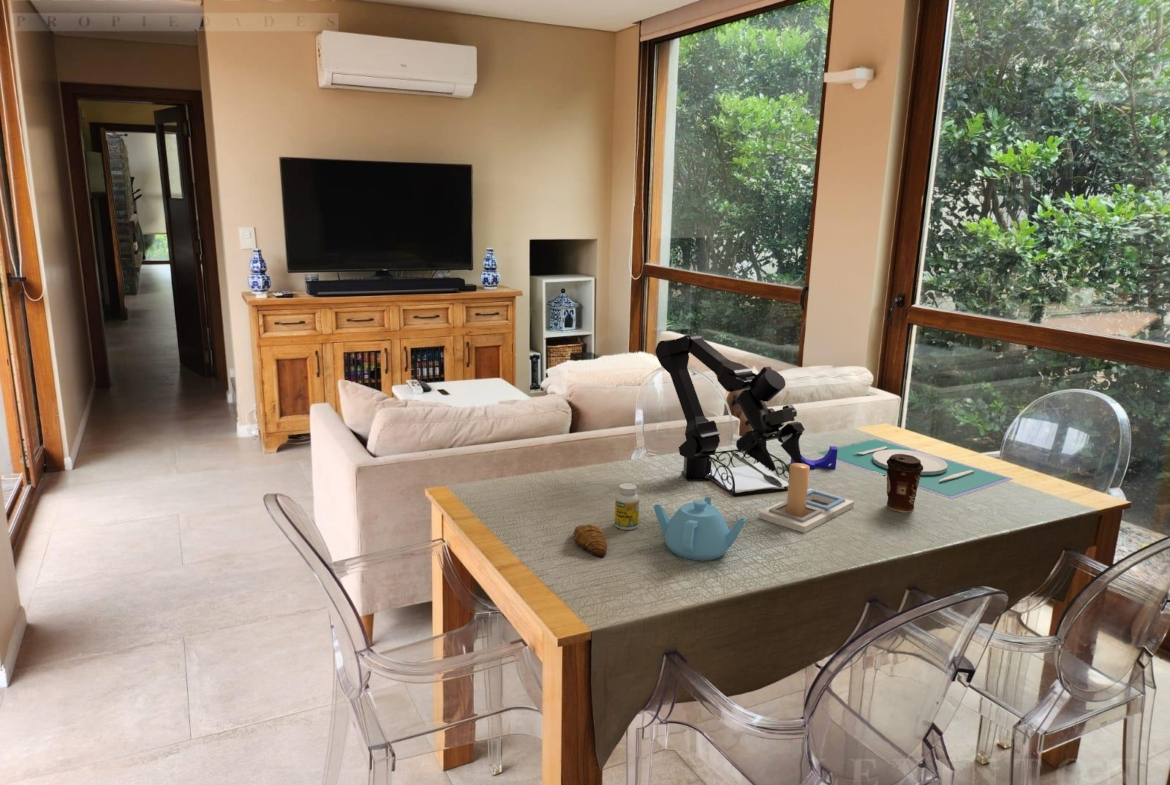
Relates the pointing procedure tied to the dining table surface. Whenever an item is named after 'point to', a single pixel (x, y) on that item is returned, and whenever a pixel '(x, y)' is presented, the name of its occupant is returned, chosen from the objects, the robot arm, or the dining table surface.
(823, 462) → the blue cradle holder
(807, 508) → the socket tray
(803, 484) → the orange plug
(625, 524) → the supplement bottle
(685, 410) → the robot arm
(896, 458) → the coffee cup
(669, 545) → the teapot
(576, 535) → the croissant
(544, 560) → the dining table surface
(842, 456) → the place mat
